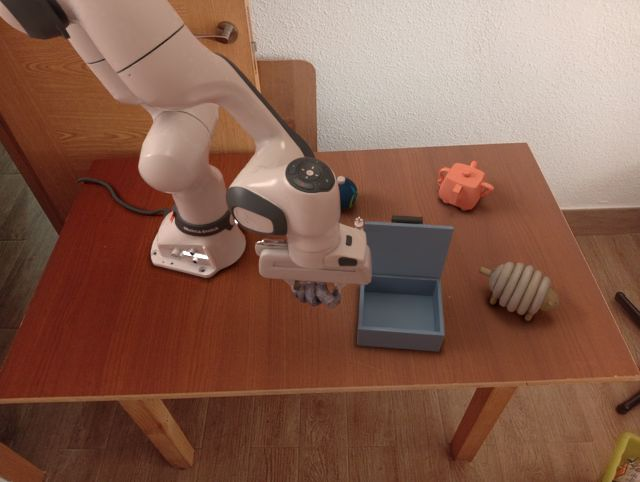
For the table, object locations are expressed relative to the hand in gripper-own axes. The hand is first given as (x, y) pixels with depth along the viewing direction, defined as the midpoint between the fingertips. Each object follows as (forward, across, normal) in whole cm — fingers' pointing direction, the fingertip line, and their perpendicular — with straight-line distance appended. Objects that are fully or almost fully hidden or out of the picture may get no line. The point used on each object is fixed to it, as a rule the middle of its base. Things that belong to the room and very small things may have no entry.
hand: (316, 288), depth 91 cm
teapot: (+14, +33, +40) cm, 54 cm away
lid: (0, +17, +10) cm, 19 cm away
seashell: (+4, 0, 0) cm, 4 cm away
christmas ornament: (+14, +2, +35) cm, 38 cm away
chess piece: (+14, +7, +22) cm, 27 cm away
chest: (+14, +16, +3) cm, 22 cm away
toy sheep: (+14, +41, +9) cm, 44 cm away
